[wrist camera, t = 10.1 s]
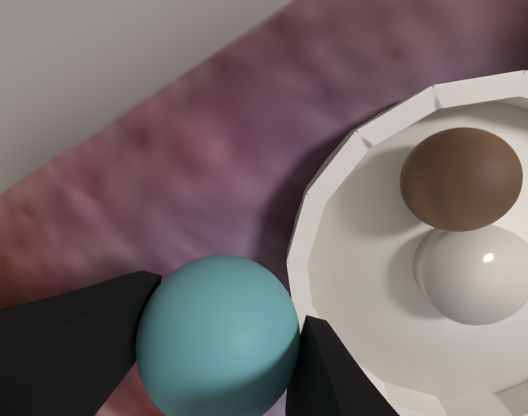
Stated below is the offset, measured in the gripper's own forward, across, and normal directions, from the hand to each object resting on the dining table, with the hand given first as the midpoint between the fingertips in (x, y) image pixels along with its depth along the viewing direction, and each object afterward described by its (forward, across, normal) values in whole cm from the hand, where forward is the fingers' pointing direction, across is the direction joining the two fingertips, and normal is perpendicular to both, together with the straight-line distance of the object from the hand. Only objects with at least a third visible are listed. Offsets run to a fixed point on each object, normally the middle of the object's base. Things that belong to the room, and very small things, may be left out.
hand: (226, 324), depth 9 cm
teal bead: (+2, 0, 0) cm, 2 cm away
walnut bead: (+8, -7, -5) cm, 12 cm away
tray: (+9, -11, -2) cm, 14 cm away
